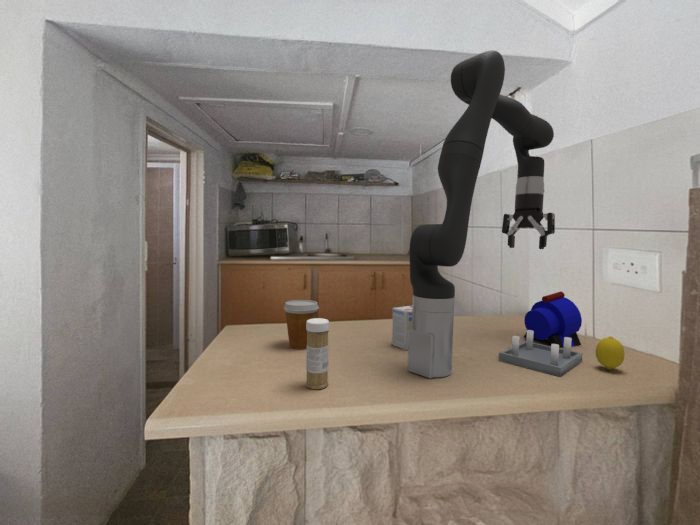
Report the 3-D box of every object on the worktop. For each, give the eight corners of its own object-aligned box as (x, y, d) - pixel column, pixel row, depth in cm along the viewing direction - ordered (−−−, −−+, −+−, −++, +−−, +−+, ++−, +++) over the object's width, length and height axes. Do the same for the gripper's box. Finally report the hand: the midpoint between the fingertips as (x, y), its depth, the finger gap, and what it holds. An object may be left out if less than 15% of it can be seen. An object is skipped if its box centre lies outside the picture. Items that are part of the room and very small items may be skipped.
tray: (560, 376, 81) (561, 350, 80) (498, 360, 91) (499, 336, 91) (582, 361, 92) (583, 337, 91) (524, 348, 102) (525, 326, 102)
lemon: (610, 375, 83) (613, 340, 82) (588, 366, 88) (591, 333, 87) (629, 373, 84) (631, 339, 83) (606, 364, 89) (608, 332, 89)
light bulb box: (418, 339, 109) (419, 303, 108) (435, 345, 103) (436, 307, 102) (390, 344, 103) (391, 306, 102) (406, 351, 97) (407, 311, 97)
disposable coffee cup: (299, 339, 107) (300, 298, 106) (325, 345, 101) (326, 302, 100) (276, 346, 99) (276, 303, 98) (302, 353, 93) (302, 307, 93)
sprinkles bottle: (317, 379, 77) (318, 316, 76) (332, 385, 74) (334, 320, 73) (300, 385, 74) (301, 319, 73) (316, 392, 70) (316, 323, 69)
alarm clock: (583, 345, 106) (586, 294, 105) (552, 349, 101) (555, 296, 100) (546, 334, 117) (549, 288, 116) (517, 337, 113) (520, 289, 112)
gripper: (500, 194, 110) (497, 247, 111) (551, 190, 100) (547, 249, 101) (510, 196, 116) (507, 247, 117) (560, 193, 105) (556, 249, 106)
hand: (526, 248), depth 109 cm, fingers open, 8 cm apart
